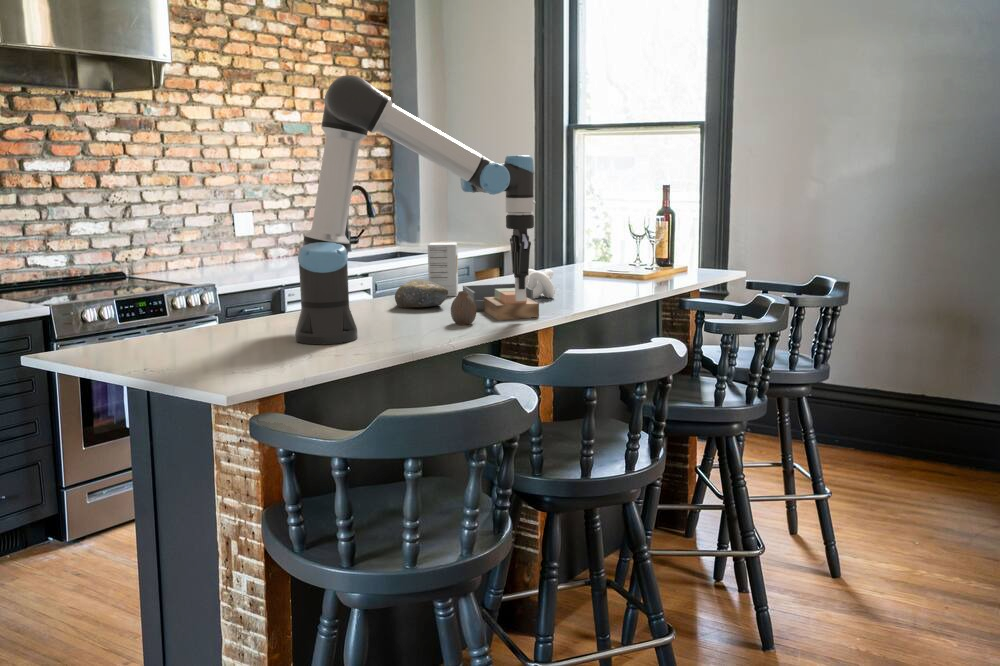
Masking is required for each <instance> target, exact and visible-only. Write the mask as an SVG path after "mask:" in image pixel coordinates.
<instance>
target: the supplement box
mask: <svg viewBox="0 0 1000 666" xmlns="http://www.w3.org/2000/svg"><path fill="white" fill-rule="evenodd" d="M458 252H459V251H458V242H455V241H454V242H450V241H449V242H430V243H429V244H427V265H428V267H427V268H428V271H427V272H428V281H430V282H433V283H435V284H438V285H440V286H442V287H444V288H446V289H447V290H448V294H447V297H456V296H457V295H458V292H459V265H458V263H459V262H458V261H459V260H458V257H459V255H458Z"/></svg>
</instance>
